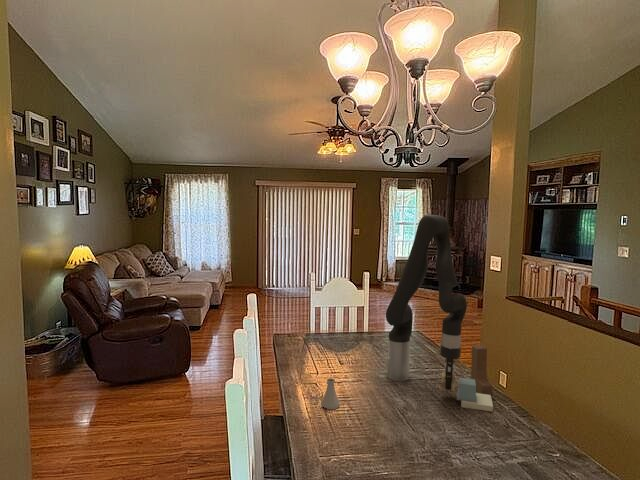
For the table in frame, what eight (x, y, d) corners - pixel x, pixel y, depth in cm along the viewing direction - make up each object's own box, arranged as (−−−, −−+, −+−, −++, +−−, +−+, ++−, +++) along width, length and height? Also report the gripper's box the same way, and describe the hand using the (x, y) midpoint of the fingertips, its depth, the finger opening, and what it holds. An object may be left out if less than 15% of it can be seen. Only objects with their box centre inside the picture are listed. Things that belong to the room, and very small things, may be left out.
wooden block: (492, 396, 160) (493, 352, 159) (481, 396, 159) (483, 352, 158) (480, 386, 169) (481, 344, 167) (470, 387, 168) (471, 345, 167)
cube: (458, 398, 152) (459, 383, 152) (458, 392, 158) (458, 377, 158) (475, 401, 150) (475, 385, 150) (474, 394, 156) (475, 379, 156)
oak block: (440, 388, 156) (441, 376, 155) (441, 383, 160) (442, 371, 160) (454, 391, 154) (455, 378, 154) (454, 385, 159) (455, 373, 158)
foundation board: (456, 406, 151) (456, 401, 151) (456, 395, 160) (456, 390, 160) (492, 411, 147) (493, 406, 147) (490, 399, 156) (490, 394, 156)
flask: (342, 403, 153) (342, 377, 152) (336, 411, 146) (337, 385, 146) (324, 400, 155) (324, 375, 155) (318, 408, 149) (318, 382, 148)
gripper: (441, 337, 164) (439, 377, 165) (439, 348, 150) (437, 392, 151) (460, 340, 161) (458, 380, 162) (460, 351, 148) (458, 396, 149)
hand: (448, 386), depth 157 cm, fingers closed on oak block, 5 cm apart
